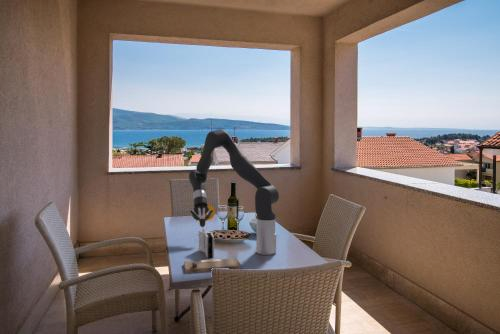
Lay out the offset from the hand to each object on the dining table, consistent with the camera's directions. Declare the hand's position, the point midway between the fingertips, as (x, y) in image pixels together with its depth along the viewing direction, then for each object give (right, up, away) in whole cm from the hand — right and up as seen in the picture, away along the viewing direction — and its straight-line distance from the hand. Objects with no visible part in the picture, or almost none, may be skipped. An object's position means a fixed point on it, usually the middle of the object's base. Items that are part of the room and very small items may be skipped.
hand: (202, 226), depth 200 cm
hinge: (+4, -11, -15) cm, 19 cm away
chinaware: (+32, -8, +24) cm, 41 cm away
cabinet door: (+8, -13, -34) cm, 37 cm away
